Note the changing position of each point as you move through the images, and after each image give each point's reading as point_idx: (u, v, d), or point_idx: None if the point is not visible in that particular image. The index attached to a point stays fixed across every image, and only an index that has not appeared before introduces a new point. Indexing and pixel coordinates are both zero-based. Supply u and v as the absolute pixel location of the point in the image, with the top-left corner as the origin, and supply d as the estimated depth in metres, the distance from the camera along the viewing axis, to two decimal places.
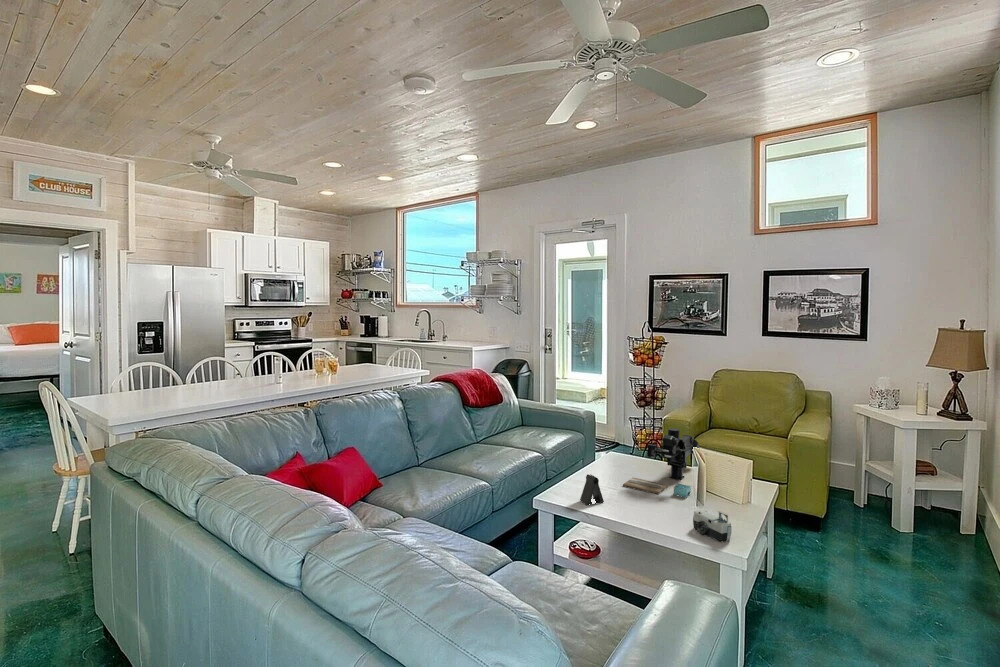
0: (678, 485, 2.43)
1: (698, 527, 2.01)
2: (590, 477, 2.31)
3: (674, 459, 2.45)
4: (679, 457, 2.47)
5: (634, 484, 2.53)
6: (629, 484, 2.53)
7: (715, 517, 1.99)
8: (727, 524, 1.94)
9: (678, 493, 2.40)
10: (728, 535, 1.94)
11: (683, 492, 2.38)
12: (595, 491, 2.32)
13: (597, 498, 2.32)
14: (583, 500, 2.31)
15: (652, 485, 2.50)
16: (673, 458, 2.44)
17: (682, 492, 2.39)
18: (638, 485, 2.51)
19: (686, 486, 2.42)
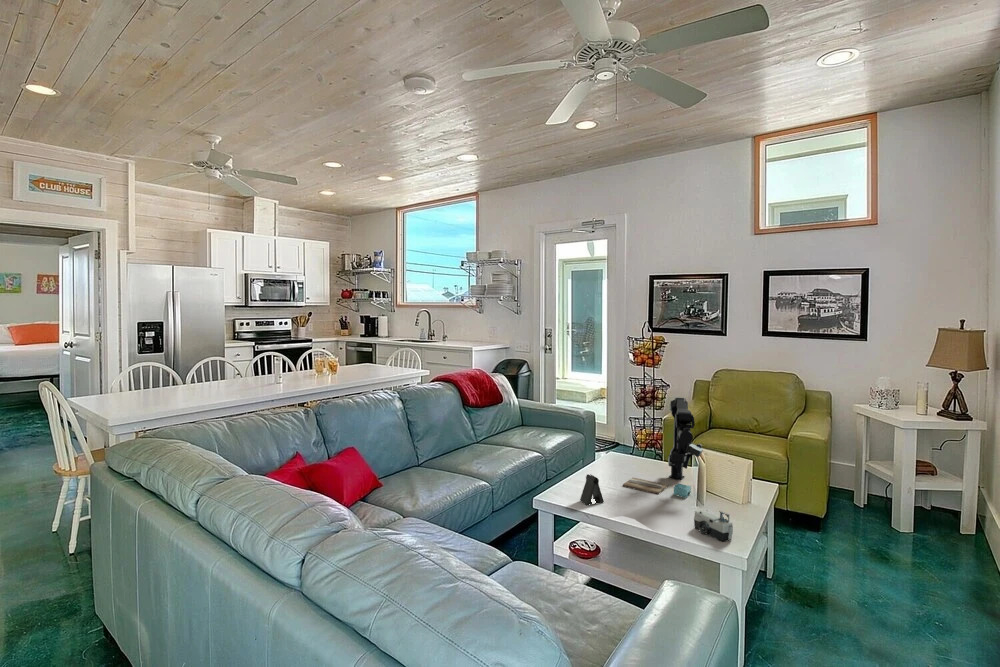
0: (678, 485, 2.43)
1: (699, 527, 2.01)
2: (590, 477, 2.31)
3: None
4: None
5: (634, 484, 2.53)
6: (629, 484, 2.53)
7: (716, 517, 2.00)
8: (728, 524, 1.94)
9: (678, 493, 2.40)
10: (729, 535, 1.95)
11: (683, 492, 2.38)
12: (595, 491, 2.32)
13: (597, 498, 2.32)
14: (583, 500, 2.31)
15: (652, 485, 2.50)
16: None
17: (682, 492, 2.39)
18: (638, 485, 2.51)
19: (686, 486, 2.42)
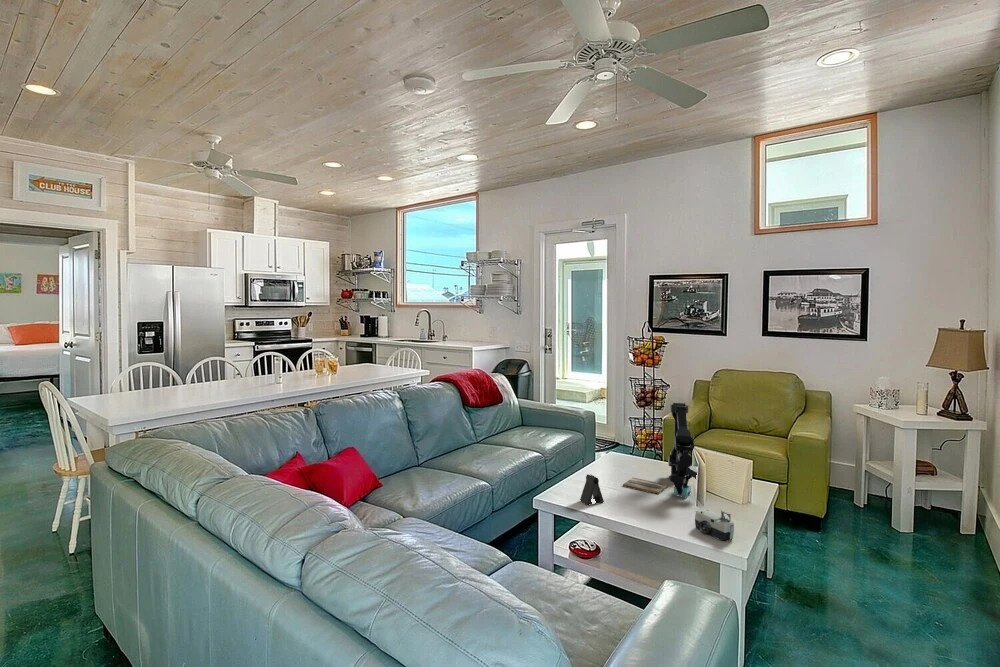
0: None
1: (700, 527, 2.01)
2: (590, 477, 2.31)
3: None
4: None
5: (634, 484, 2.53)
6: (629, 484, 2.53)
7: (717, 516, 2.00)
8: (730, 523, 1.95)
9: None
10: (731, 534, 1.95)
11: (683, 492, 2.38)
12: (595, 491, 2.32)
13: (597, 498, 2.32)
14: (583, 500, 2.31)
15: (652, 485, 2.50)
16: None
17: (682, 492, 2.39)
18: (638, 485, 2.51)
19: (686, 486, 2.42)
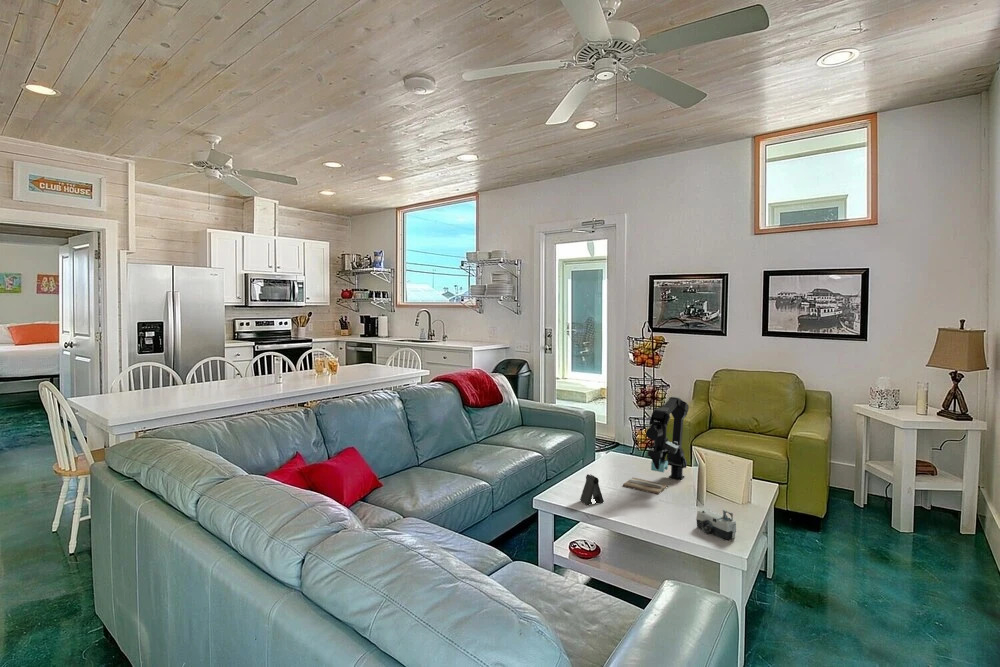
0: None
1: (702, 526, 2.02)
2: (590, 477, 2.31)
3: None
4: None
5: (634, 484, 2.53)
6: (629, 484, 2.53)
7: (719, 516, 2.01)
8: (732, 522, 1.95)
9: (655, 468, 2.46)
10: (733, 533, 1.96)
11: (660, 466, 2.44)
12: (595, 491, 2.32)
13: (597, 498, 2.32)
14: (583, 500, 2.31)
15: (652, 485, 2.50)
16: None
17: (659, 466, 2.45)
18: (638, 485, 2.51)
19: (663, 461, 2.48)
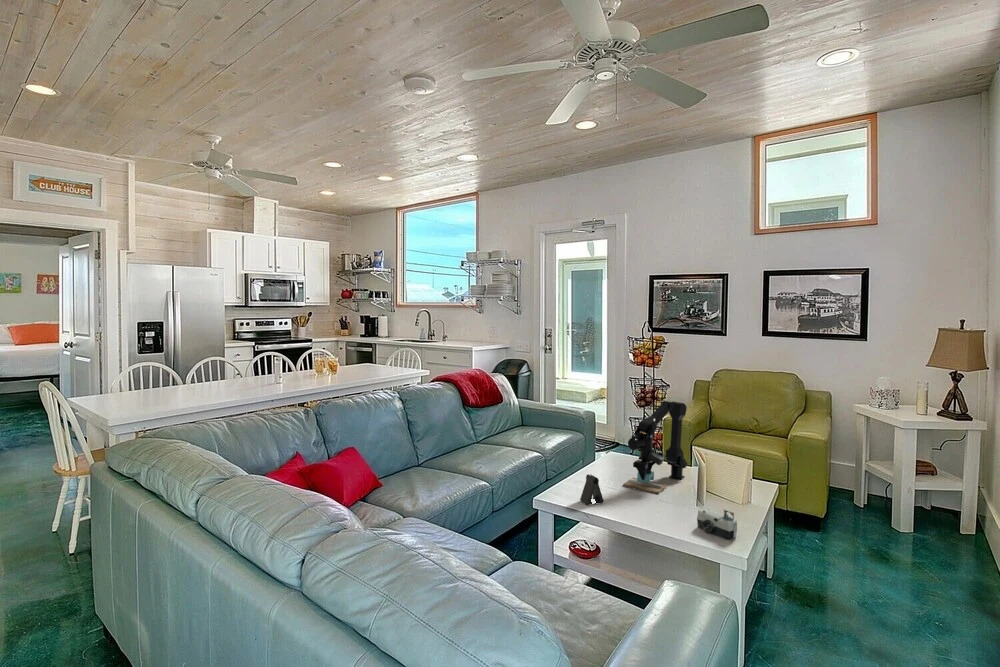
0: None
1: (704, 526, 2.02)
2: (590, 477, 2.31)
3: None
4: None
5: (634, 484, 2.53)
6: (629, 484, 2.53)
7: (720, 515, 2.01)
8: (733, 522, 1.96)
9: None
10: (734, 533, 1.96)
11: (646, 477, 2.49)
12: (595, 491, 2.32)
13: (597, 498, 2.32)
14: (583, 500, 2.31)
15: (652, 485, 2.50)
16: None
17: (645, 477, 2.49)
18: (638, 485, 2.51)
19: (649, 472, 2.53)
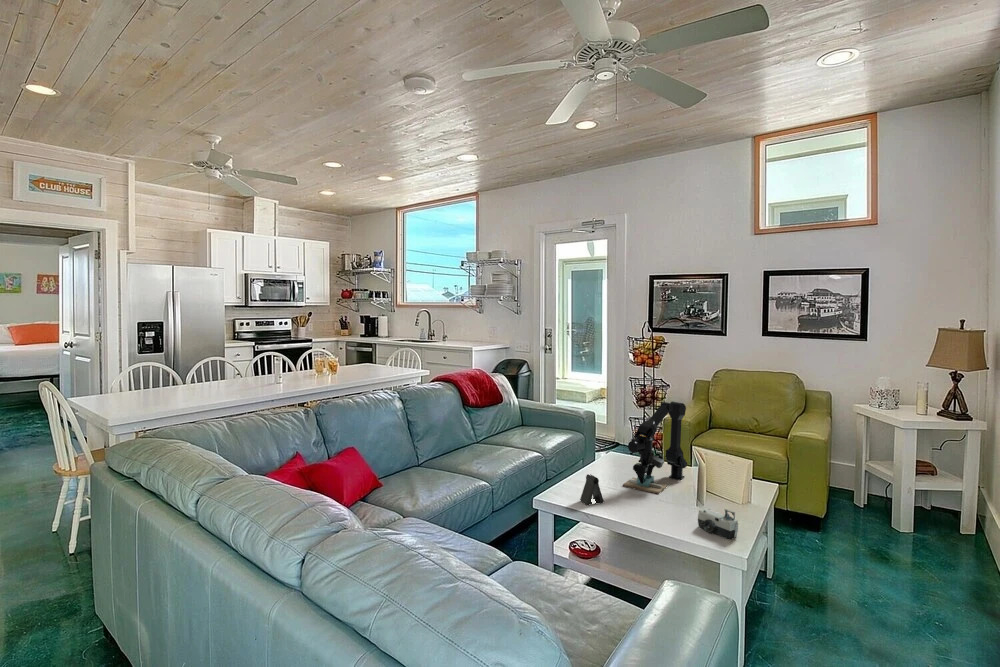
0: None
1: (704, 526, 2.02)
2: (590, 477, 2.31)
3: None
4: None
5: (634, 484, 2.53)
6: (629, 484, 2.53)
7: (721, 515, 2.01)
8: (735, 521, 1.96)
9: None
10: (735, 532, 1.97)
11: (646, 482, 2.49)
12: (595, 491, 2.32)
13: (597, 498, 2.32)
14: (583, 500, 2.31)
15: (652, 485, 2.50)
16: None
17: (645, 482, 2.49)
18: (638, 485, 2.51)
19: (649, 476, 2.53)
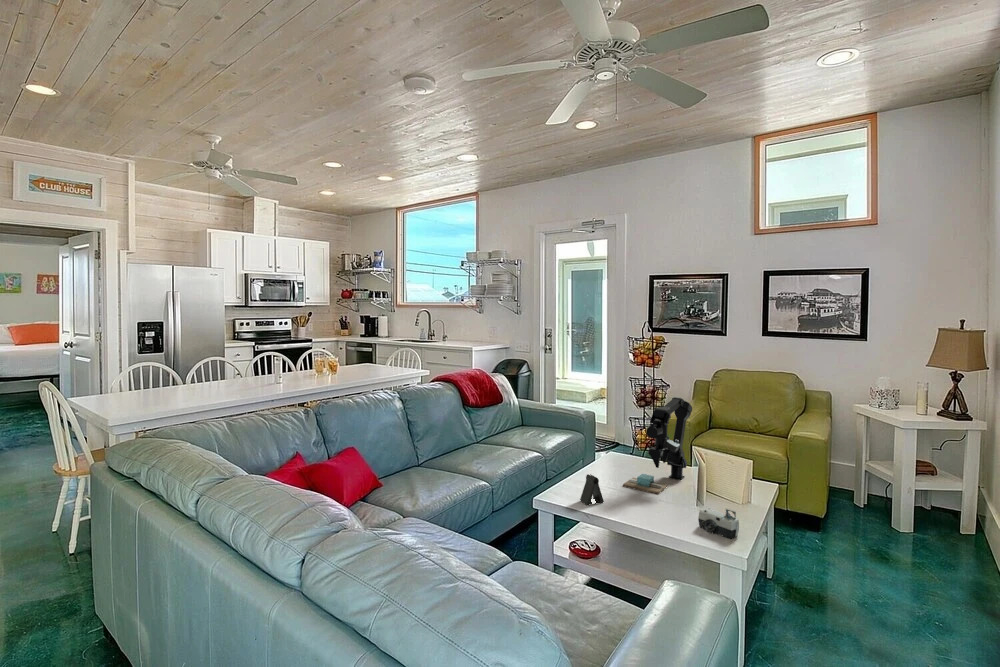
0: (642, 475, 2.54)
1: (705, 525, 2.03)
2: (590, 477, 2.31)
3: None
4: None
5: (634, 484, 2.53)
6: (629, 484, 2.53)
7: (722, 514, 2.02)
8: (736, 521, 1.97)
9: (641, 483, 2.51)
10: (736, 531, 1.97)
11: (646, 482, 2.49)
12: (595, 491, 2.32)
13: (597, 498, 2.32)
14: (583, 500, 2.31)
15: (652, 485, 2.50)
16: None
17: (645, 482, 2.49)
18: (638, 485, 2.51)
19: (649, 476, 2.53)
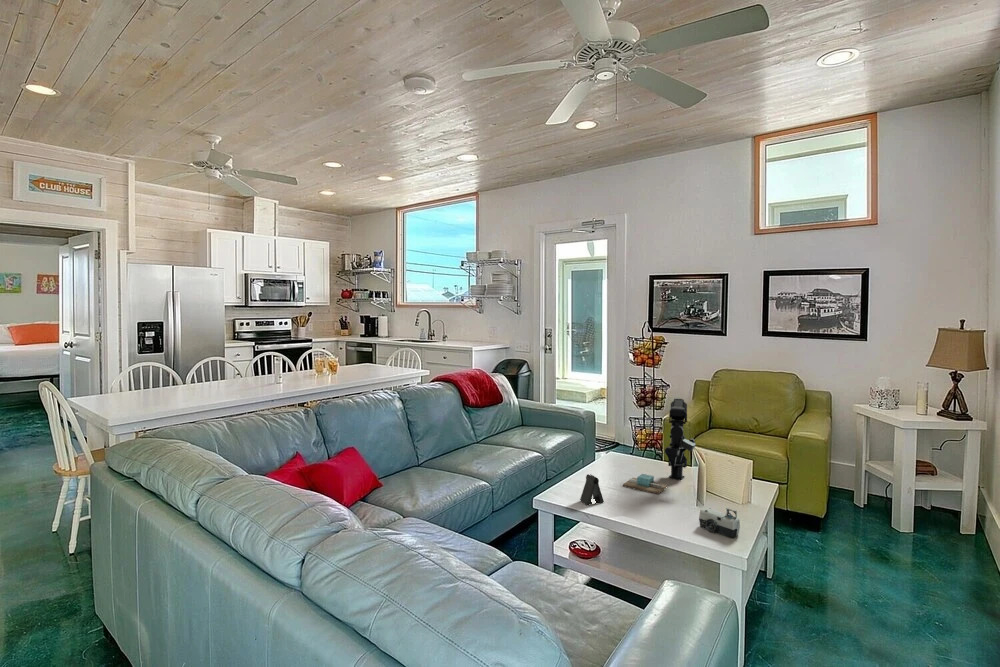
0: (642, 475, 2.54)
1: (706, 525, 2.03)
2: (590, 477, 2.31)
3: None
4: None
5: (634, 484, 2.53)
6: (629, 484, 2.53)
7: (722, 514, 2.02)
8: (737, 520, 1.98)
9: (641, 483, 2.51)
10: (737, 531, 1.98)
11: (646, 482, 2.49)
12: (595, 491, 2.32)
13: (597, 498, 2.32)
14: (583, 500, 2.31)
15: (652, 485, 2.50)
16: None
17: (645, 482, 2.49)
18: (638, 485, 2.51)
19: (649, 476, 2.53)
